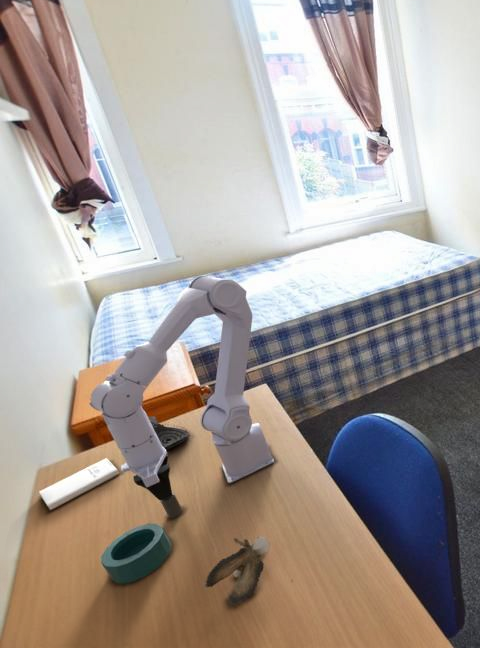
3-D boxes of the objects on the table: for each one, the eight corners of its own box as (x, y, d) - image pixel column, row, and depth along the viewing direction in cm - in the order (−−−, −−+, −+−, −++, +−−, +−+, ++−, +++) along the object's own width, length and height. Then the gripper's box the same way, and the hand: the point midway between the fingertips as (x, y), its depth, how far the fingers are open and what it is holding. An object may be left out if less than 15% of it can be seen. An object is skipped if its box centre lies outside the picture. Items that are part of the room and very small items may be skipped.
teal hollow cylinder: (169, 531, 91) (160, 515, 89) (173, 561, 84) (164, 544, 83) (111, 559, 86) (101, 543, 84) (111, 593, 79) (100, 577, 78)
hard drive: (41, 496, 104) (108, 462, 113) (51, 511, 99) (120, 474, 108) (38, 491, 103) (105, 456, 112) (47, 505, 99) (117, 468, 108)
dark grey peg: (181, 507, 97) (160, 465, 92) (183, 513, 95) (161, 471, 91) (168, 513, 95) (146, 471, 91) (169, 520, 94) (147, 478, 89)
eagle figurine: (226, 555, 83) (196, 596, 74) (240, 523, 82) (211, 561, 73) (268, 569, 84) (243, 612, 75) (282, 538, 83) (259, 577, 74)
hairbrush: (158, 404, 130) (192, 429, 115) (164, 415, 131) (198, 441, 116) (123, 421, 124) (154, 449, 109) (129, 432, 125) (160, 461, 110)
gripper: (110, 431, 91) (139, 484, 96) (110, 469, 80) (142, 526, 85) (153, 415, 95) (179, 467, 100) (159, 449, 84) (187, 505, 89)
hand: (165, 493), depth 93 cm, fingers closed on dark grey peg, 2 cm apart
